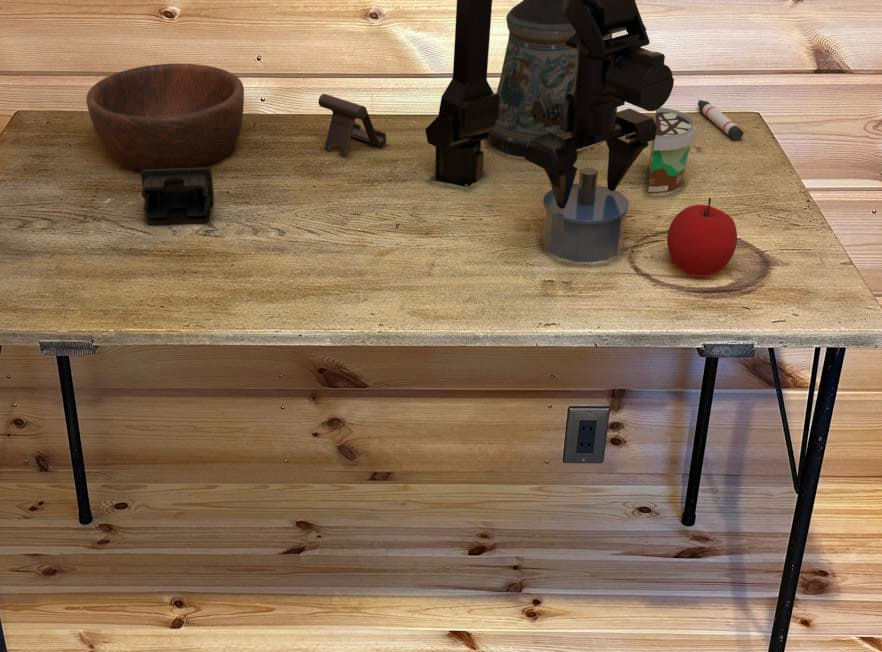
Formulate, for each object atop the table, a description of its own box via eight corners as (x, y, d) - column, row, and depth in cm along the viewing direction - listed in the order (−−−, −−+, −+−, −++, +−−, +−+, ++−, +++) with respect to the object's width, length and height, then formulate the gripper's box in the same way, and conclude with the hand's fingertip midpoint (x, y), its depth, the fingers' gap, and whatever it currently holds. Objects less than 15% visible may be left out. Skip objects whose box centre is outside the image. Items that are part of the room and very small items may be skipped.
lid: (527, 215, 161) (530, 177, 158) (564, 184, 169) (567, 147, 165) (607, 235, 156) (611, 196, 152) (641, 202, 164) (645, 164, 160)
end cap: (215, 202, 179) (210, 160, 175) (212, 223, 173) (207, 180, 169) (148, 204, 179) (142, 162, 175) (143, 226, 173) (137, 183, 169)
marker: (742, 139, 195) (744, 128, 194) (731, 141, 195) (733, 129, 193) (702, 106, 207) (704, 95, 206) (692, 107, 207) (693, 96, 206)
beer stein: (465, 145, 195) (469, -10, 181) (532, 110, 207) (541, -38, 192) (549, 171, 186) (561, 11, 172) (614, 133, 198) (630, -20, 184)
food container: (689, 203, 176) (698, 139, 170) (647, 200, 177) (655, 137, 171) (688, 169, 186) (697, 108, 180) (648, 166, 187) (656, 105, 181)
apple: (648, 262, 162) (657, 195, 156) (699, 246, 165) (709, 179, 159) (694, 291, 155) (705, 222, 149) (746, 274, 159) (759, 205, 153)
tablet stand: (387, 145, 195) (386, 96, 191) (355, 160, 191) (353, 110, 186) (348, 132, 200) (346, 84, 195) (315, 146, 195) (313, 97, 191)
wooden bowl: (99, 189, 183) (88, 126, 177) (92, 129, 203) (82, 70, 197) (259, 171, 188) (254, 109, 182) (237, 114, 208) (232, 56, 202)
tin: (531, 255, 164) (534, 213, 160) (559, 223, 171) (562, 182, 168) (606, 272, 160) (611, 229, 156) (631, 238, 167) (636, 197, 164)
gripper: (606, 55, 162) (595, 162, 171) (500, 85, 153) (495, 196, 162) (665, 78, 154) (651, 188, 163) (558, 111, 146) (549, 225, 155)
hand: (586, 198), depth 161 cm, fingers open, 9 cm apart
